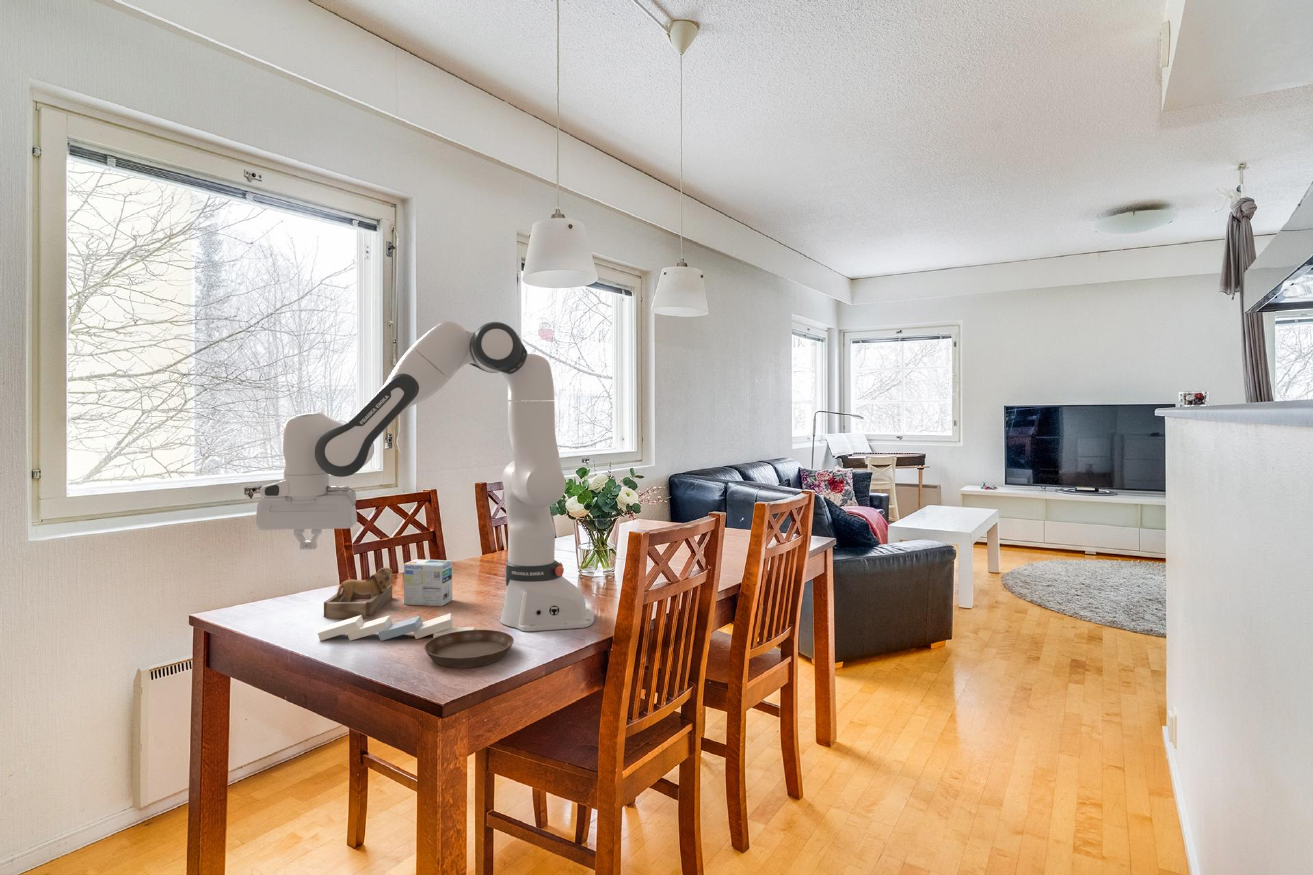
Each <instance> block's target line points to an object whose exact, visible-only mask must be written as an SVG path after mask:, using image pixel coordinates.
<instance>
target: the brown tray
mask: <svg viewBox="0 0 1313 875" xmlns="http://www.w3.org/2000/svg"><path fill="white" fill-rule="evenodd" d="M342 591H343V589H341V592H340V594H341V593H342ZM339 598H340V595H339ZM339 598H338V596H337V593H335V594H334V595H333V596H331V597H330V598H328V599H327V600H326V601H324V602H323V618H326V619H339V618H340V619H350V618H353V617H357V616H360V615H362V618H364V619H366V618H367V617H369V618H370V617H373V615H374V614H376V613H377V612H378V611H379V610H380V609H381V608H382V607H384V606H385V605H386V604H387V603H388V602H389V601H391V599H393V584H390V585H389V586H388V587H387V589H386V590H385V591H384V592H380V593H379V594H376V595H375V596H374V597H373V598H371V594H364V595H362V594H358V593H356V592H353V594H352V596H351V599H350V602H345V601H346V596H345V597H344V598H343V599H342V600H341V601H339ZM353 599H369V600H368V601H365V602H364V601H359V602H358V601H356V602H355V601H351V600H353Z"/></svg>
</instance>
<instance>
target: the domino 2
mask: <svg viewBox="0 0 1313 875" xmlns="http://www.w3.org/2000/svg"><path fill="white" fill-rule="evenodd" d="M391 624H393V621H392V617H391V615H386V616H383V617H380V618H377V619H376V618H375V619H373V620H370V621H367V622H364V623H363V624H362V625H361V626H360V628H359V629H358V630H354V631H351V632H348V633H346V634H347V637H348V641H354V640H357V639H361V638H365V637H367V636H371V635H374V634H378V633H379V632H381V631H385V630H387V629H388V628H389V627H390V625H391Z"/></svg>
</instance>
